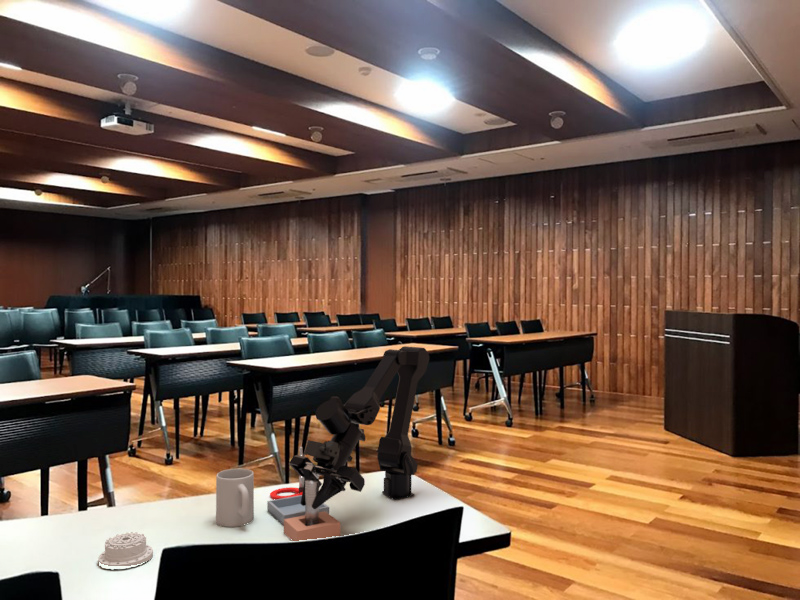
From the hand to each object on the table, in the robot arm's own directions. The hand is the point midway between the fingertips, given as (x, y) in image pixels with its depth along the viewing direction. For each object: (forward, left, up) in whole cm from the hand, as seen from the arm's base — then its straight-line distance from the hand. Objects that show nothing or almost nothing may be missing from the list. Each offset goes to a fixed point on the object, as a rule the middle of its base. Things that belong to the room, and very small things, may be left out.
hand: (307, 506), depth 138 cm
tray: (-3, -14, -7) cm, 15 cm away
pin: (-1, -1, -7) cm, 7 cm away
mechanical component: (+36, -7, -7) cm, 37 cm away
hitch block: (-1, -1, -7) cm, 7 cm away
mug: (+11, -16, -7) cm, 20 cm away
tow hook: (-6, -28, -7) cm, 29 cm away
